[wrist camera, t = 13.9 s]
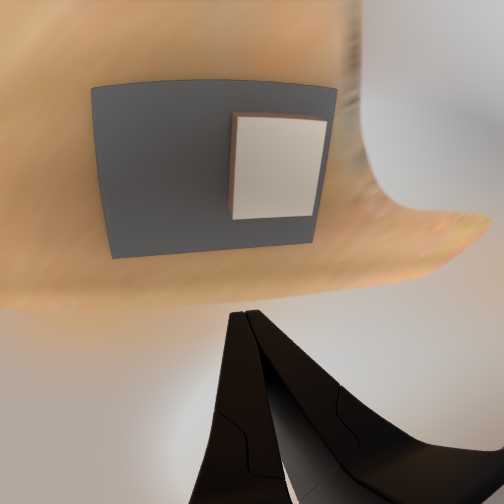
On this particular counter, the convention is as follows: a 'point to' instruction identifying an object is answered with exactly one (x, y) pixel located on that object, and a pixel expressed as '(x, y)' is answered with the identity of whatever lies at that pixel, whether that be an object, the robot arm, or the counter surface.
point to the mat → (189, 163)
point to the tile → (274, 164)
